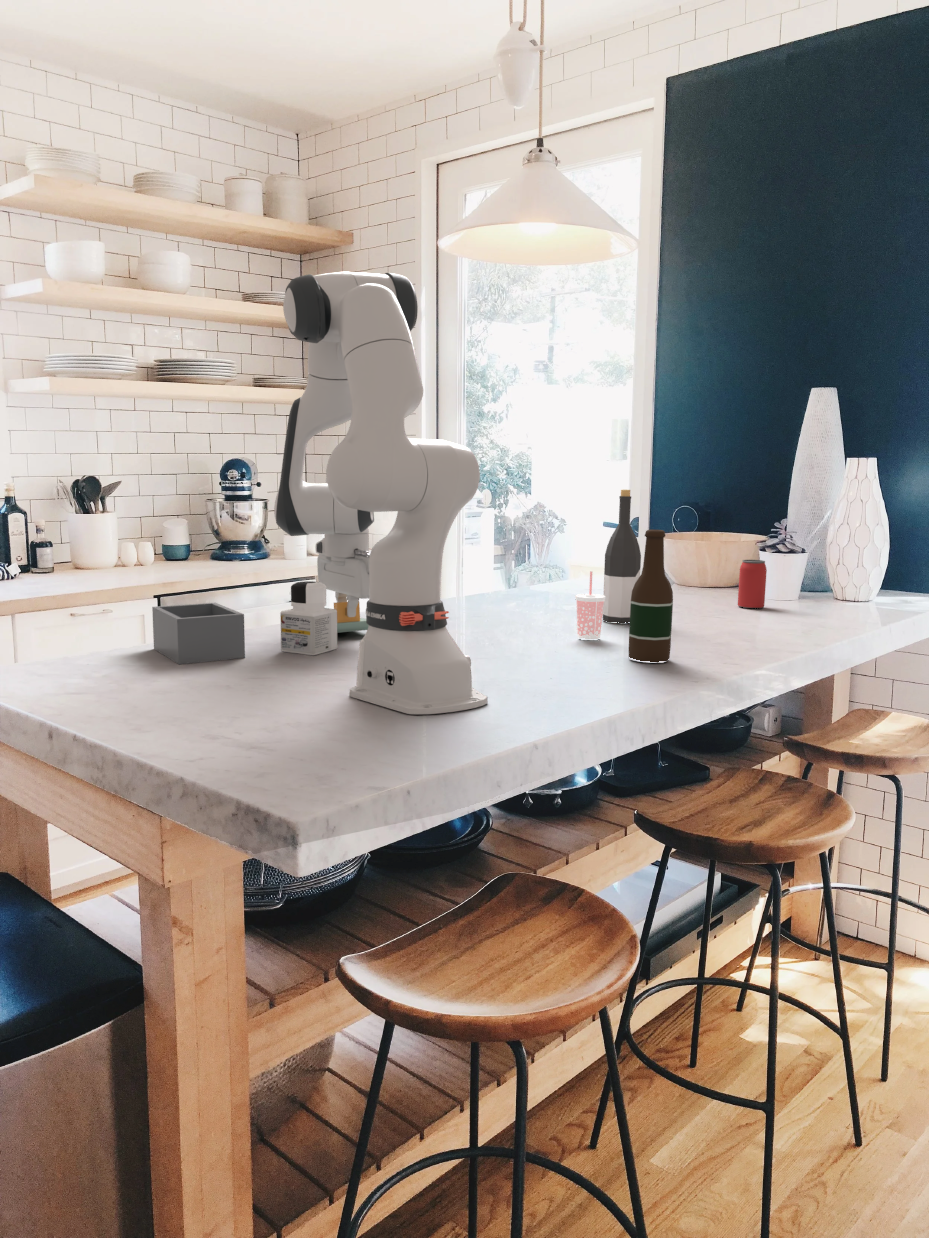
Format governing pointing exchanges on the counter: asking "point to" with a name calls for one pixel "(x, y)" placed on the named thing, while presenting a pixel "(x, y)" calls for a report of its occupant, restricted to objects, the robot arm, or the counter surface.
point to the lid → (349, 619)
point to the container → (308, 621)
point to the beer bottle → (651, 605)
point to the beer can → (752, 584)
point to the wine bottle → (621, 566)
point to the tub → (198, 632)
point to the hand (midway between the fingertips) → (347, 615)
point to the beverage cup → (589, 614)
